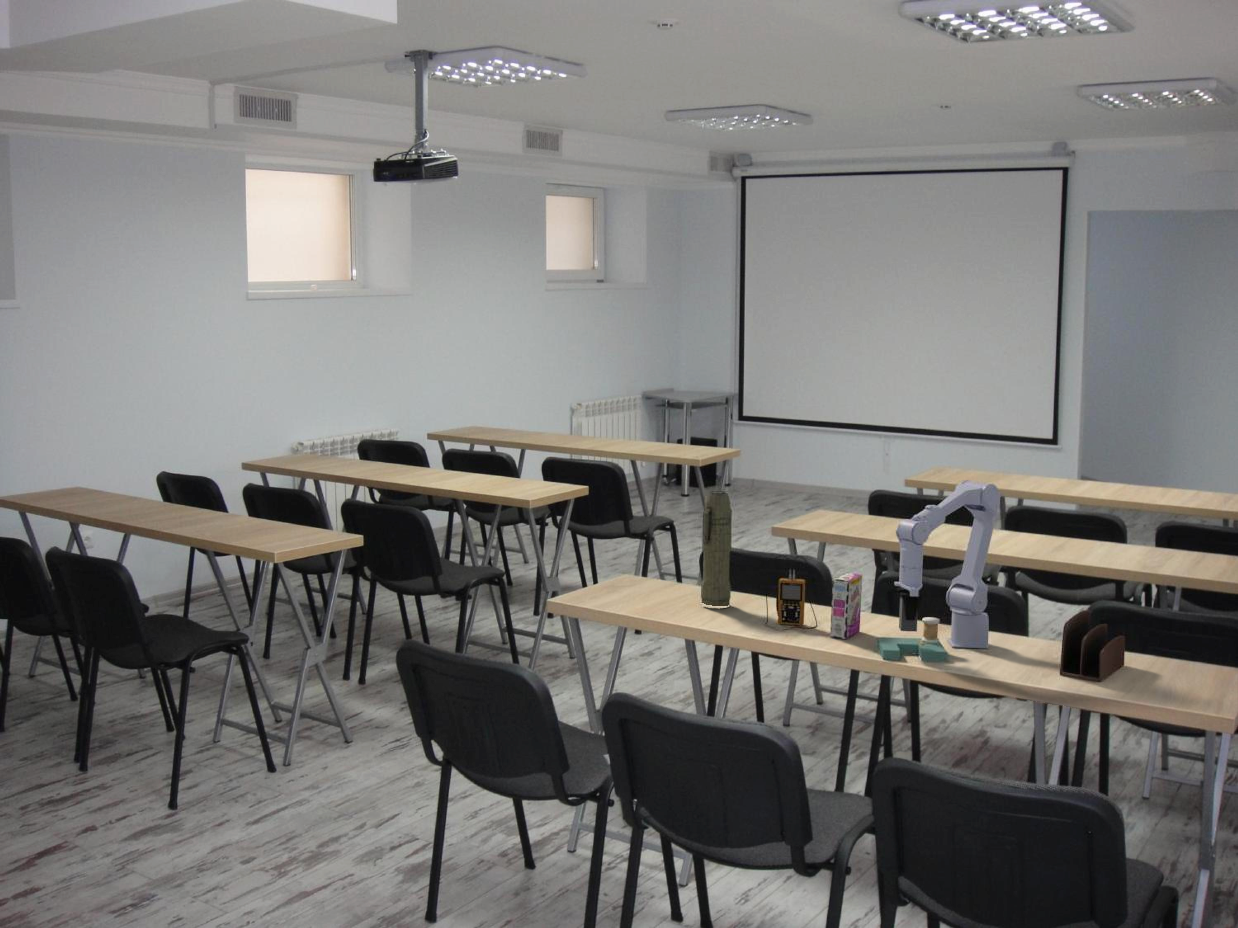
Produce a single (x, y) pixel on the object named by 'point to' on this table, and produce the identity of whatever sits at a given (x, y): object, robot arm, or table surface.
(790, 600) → the multimeter
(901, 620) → the terminal peg
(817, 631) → the table surface
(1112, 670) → the letter holder
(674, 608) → the table surface
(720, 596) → the thermos
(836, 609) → the candy bar box
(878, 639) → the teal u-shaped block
